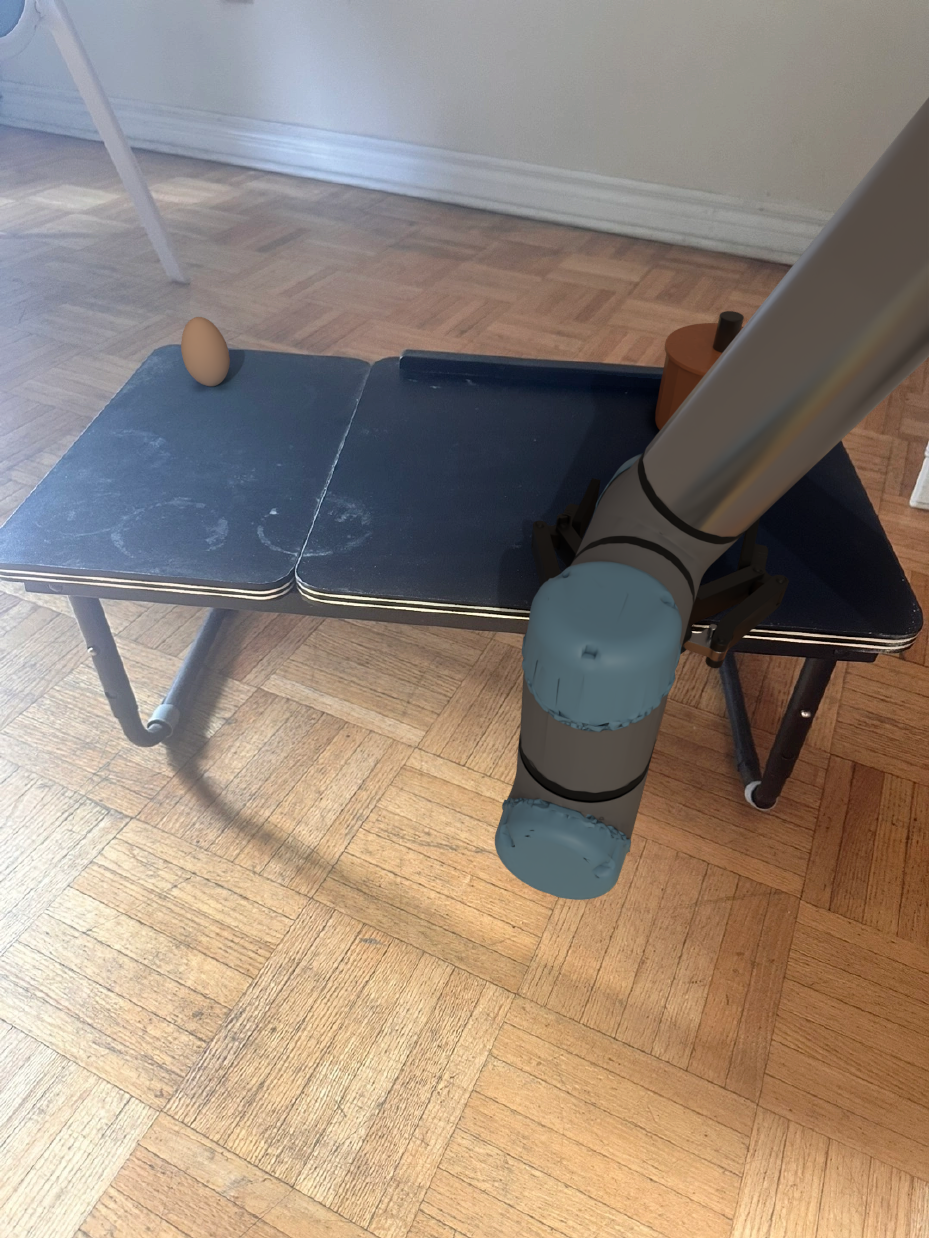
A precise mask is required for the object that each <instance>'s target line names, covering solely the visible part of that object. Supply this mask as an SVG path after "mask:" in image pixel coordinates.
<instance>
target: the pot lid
mask: <svg viewBox="0 0 929 1238" xmlns="http://www.w3.org/2000/svg"><path fill="white" fill-rule="evenodd" d="M744 318H745V317H744V315H743V314H742V313H740V312H738V311H734V310H726V311H722V312H720V314H719V317H718V321H717V322H716V323H715V322H703V323H695V324H689V325H685V326H682V327H679V328H677V329H675V330H673V331H672V332H671V333H670V334H669V335H668V336H667V338H666V339H665V342H664V352H665V355H666V354H667V356H668V357H669V359H670V360H671V361H672V362H674V363H675V364H676V365H678V366H679V367H681V368H683V369H685V370H687V371H689V372H692V373H694V374H697V375H700V376H704V375H705V374H706V373H707V372H708V371H709V369H710V368H711V367H712V366H713V364H714V363H715V362H716V361H717V359H718V358H719V357H720V356H721V354H722V353H723V352H724V351H725V349H726V348H727V347H728V346H729V344H730V343H731V342H732V341H733V339H734V338H735V337H736V336H737V335H738V333H739V332H740V331H741V330H742V328H743V327H744V326H743V323H744Z"/></svg>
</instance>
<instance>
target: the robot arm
mask: <svg viewBox="0 0 929 1238" xmlns="http://www.w3.org/2000/svg"><path fill="white" fill-rule="evenodd" d="M742 327H743V328H742V330H741V331H740V332H739V333H738V335H737V336H736V337H735V338H734V339H733V341H732V342H731V343H730V344H729V346H728V347H727V348H726V349H725V351H724V352H723V353H722V354H721V356H720V357H719V358H718V359H717V361H716V362H715V363H714V364H713V366H712V367H711V368H710V369H709V371H708V372H707V373H706V374H705V375H704V377H703V378H702V379H701V380H700V382H699V383H698V384H697V385H696V387H695V388H694V389H693V390H692V392H691V393H690V394H689V395H688V397H687V398H686V399H685V400H684V402H683V403H682V404H681V405H680V407H679V408H678V409H677V410H676V412H675V413H674V414H673V415H672V416H671V418H670V419H669V420H668V421H667V423H666V424H665V425H664V426H663V428H662V429H661V430H659V431H658V432H657V434H656V435H655V436H654V437H653V439H652V440H651V441H650V442H649V444H648V445H647V446H646V448H645V450H644V451H643V453H640V454H637V455H635V456H633V457H631V458H629V459H628V460H627V461H625V462H623V464H621V466H619V468H618V469H617V471H616V472H615V473H614V475H613V476H612V478H611V479H610V480H609V482H608V483H607V484H606V486H605V487H604V489H603V491H602V493H601V494H600V487H601V478H600V479H599V478H594V477H591V480H590V481H589V484H588V486H587V488H586V489H585V492H584V495H583V496H582V499H581V501H580V503H579V504H576V503H575V504H574V503H569V504H567V506H566V507H565V509H564V511H563V512H562V513H559V514H557V515H556V521H555V524H550V525H549V524H547V522H546V521H544V520H536V521H534V522H532V529H531V541H530V543H531V544H530V550H531V554H532V557H533V558H532V559H533V562H534V565H535V570H536V573H537V578H538V582H539V585H540V587H539V589H538V591H537V592H536V593H535V595H534V597H533V599H532V603H531V606H530V610H529V617H528V624H527V630H526V632H525V634H524V636H523V638H522V645H521V656H522V658H523V659H522V662H521V668H522V672H523V673H522V688H521V689H522V691H521V708H520V709H521V710H520V728H519V735H518V745H517V757H516V771H515V775H514V780H513V784H512V787H511V789H510V791H509V794H508V796H507V798H506V799H504V800H503V801H502V804H501V809H502V812H501V816H500V818H499V822H498V825H497V828H496V831H495V835H494V847H495V851H496V854H497V857H498V858H499V860H500V862H501V863H502V865H503V866H504V867H505V868H506V869H507V870H508V871H509V873H511V874H512V875H513V876H514V877H515V878H517V879H518V880H519V881H521V882H522V883H524V884H525V885H527V886H529V887H531V888H533V890H537V891H539V892H542V893H545V894H548V895H550V896H553V897H556V898H560V899H563V900H564V899H566V900H572V901H584V900H585V901H587V900H592V899H597V898H600V897H602V896H605V895H606V894H608V893H609V892H610V891H611V890H612V889H613V888H614V887H615V886H616V884H617V883H618V882H619V878H620V875H621V872H622V870H623V866H624V863H625V861H626V857H627V854H628V853H630V852H631V845H632V837H633V832H634V828H635V826H636V825H635V824H636V820H637V818H638V813H639V809H640V806H641V802H642V798H643V794H644V790H645V786H646V782H647V778H648V774H649V770H650V765H651V761H652V757H653V755H654V754H653V753H654V750H655V746H656V743H657V742H658V738H659V733H660V730H661V726H662V722H663V719H664V716H665V712H666V707H667V703H668V697H669V694H670V692H671V690H672V688H673V686H674V683H675V680H676V671H677V668H678V667H679V662H680V658H681V655H682V654H683V653H685V652H687V651H689V652H691V653H695V654H698V655H701V656H704V657H705V664H706V665H707V666H708V667H709V668H711V669H720V668H721V667H722V666H723V664H724V662H725V659H726V656H727V653H728V651H729V650H730V649H731V648H732V647H734V646H735V645H736V644H737V643H739V641H741V640H742V639H743V638H744V637H745V636H746V635H748V634H749V633H750V632H751V631H752V630H754V629H755V628H756V627H757V626H759V625H760V624H761V623H762V622H763V621H765V619H767V618H768V617H769V616H770V615H772V614H773V613H774V612H775V611H776V610H778V609H779V608H780V606H781V605H782V602H783V599H784V596H785V594H786V591H787V588H788V585H789V583H790V580H789V578H788V577H786V576H785V575H783V574H775V575H771V574H769V573H768V572H767V570H766V567H767V560H768V555H769V548H768V547H767V545H764V544H758V543H756V540H757V535H758V531H759V526H760V520H761V517H762V516H763V515H765V513H766V512H767V511H768V510H769V509H770V508H771V507H773V505H774V504H775V503H777V502H778V501H779V500H780V499H781V498H782V497H783V496H784V495H785V494H786V493H787V492H788V491H789V490H790V489H792V488H793V487H794V486H795V484H797V483H798V482H799V481H800V480H801V479H802V478H803V477H804V476H805V475H806V474H807V473H809V472H810V470H812V468H813V467H815V466H816V465H817V464H818V463H819V462H820V461H821V460H822V459H823V458H824V457H826V455H827V454H828V453H830V451H832V450H833V449H834V448H835V447H836V446H837V445H838V444H839V443H840V442H842V440H843V439H845V437H847V436H848V434H850V432H851V431H853V430H854V429H855V428H856V427H857V426H858V425H859V424H860V423H861V422H863V420H864V419H865V418H866V417H867V416H868V415H869V414H871V413H872V412H873V411H874V410H875V409H876V408H877V407H878V406H879V405H880V404H882V402H884V400H885V399H886V398H887V397H888V396H890V395H891V394H892V393H893V392H894V391H895V390H896V389H897V388H898V387H899V386H901V384H903V383H904V382H905V380H906V379H907V378H909V377H910V376H911V375H912V374H913V373H914V372H915V371H916V370H917V369H918V368H919V367H921V365H923V363H925V361H927V360H928V359H929V96H928V97H927V98H926V100H925V101H924V102H923V103H922V105H921V106H920V107H919V108H918V110H917V111H915V113H914V115H913V116H912V117H911V118H910V120H909V121H908V122H907V124H906V125H905V126H904V127H903V128H902V130H901V131H900V132H899V133H898V134H897V136H895V138H894V139H893V141H892V142H891V144H889V146H888V147H887V148H886V149H885V151H883V153H882V154H881V155H880V157H879V158H878V159H877V161H876V162H875V163H874V164H873V166H872V167H871V168H870V169H869V170H868V171H867V173H866V174H865V175H864V177H863V178H862V179H861V181H860V182H859V183H858V184H857V185H856V186H855V188H854V189H853V190H852V191H851V192H850V194H849V196H848V197H846V199H845V200H844V201H843V203H842V204H841V205H840V207H839V208H838V209H837V210H836V212H835V213H834V214H833V215H832V217H831V218H830V219H829V220H828V222H826V224H825V225H824V227H823V228H821V230H820V231H819V233H817V235H816V237H814V239H813V240H812V241H811V243H810V244H808V246H807V247H806V249H805V250H804V251H803V252H802V254H801V255H800V256H799V257H798V258H797V260H796V261H795V262H794V263H793V265H792V266H791V267H790V268H789V270H788V271H787V273H785V274H784V276H783V277H782V278H781V280H780V281H779V282H778V283H777V285H776V286H775V287H774V289H772V290H771V292H770V293H769V295H768V296H767V297H766V298H765V300H764V301H763V302H762V303H761V305H760V306H759V307H758V308H757V310H756V311H755V312H754V314H753V315H752V316H751V317H750V318H749V319H748V321H747V322H746V323H745V324H744V325H743V326H742ZM599 494H600V495H599ZM743 535H744V536H743ZM742 536H743V538H742V539H743V540H742V544H741V549H740V552H739V558H738V562H737V568H736V571H734V572H731V573H729V574H727V575H723V576H722V577H719V578H717V579H715V580H712V581H709V582H707V583H705V584H702V585H700V584H701V582H702V579H703V576H704V574H705V573H706V571H707V570H708V569H709V568H710V567H711V565H712V564H714V563H715V562H716V561H717V560H718V559H719V558H720V557H721V556H722V555H724V554H725V552H726V551H728V549H729V548H731V547H732V546H733V545H734V544H735V543H736V542H737V541H738V540H739V539H740V538H741V537H742ZM557 556H558V557H559V558H560V560H561V562H562V564H564V566H565V569H564V570H563V571H561V568H560V565H559V562H558V557H557ZM731 608H732V609H731ZM728 609H731V610H730V611H729V612H727V613H726V614H725V615H724V616H723V617H722V618H721V619H720V620H719V622H718V623H717V624H715V623H711V624H709V626H708V627H707V628H705V629H703V630H702V631H701V632H693V629H692V627H693V626H694V625H695V624H696V623H698V622H701V621H703V620H705V619H707V618H710V617H713V616H714V615H717V614H719V613H721V612H723V611H726V610H728Z"/></svg>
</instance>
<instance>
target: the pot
mask: <svg viewBox="0 0 929 1238" xmlns="http://www.w3.org/2000/svg"><path fill="white" fill-rule="evenodd" d="M703 377H704V376H700V375H697V374H694V373H692V372H689V371H687V370H685V369H683V368H681V367H679V366H678V365H676V364H675V363H674V362H672V361H671V360H670V359H669V357H668V356H667V354H666V353H665V357H664V365H663V368H662V374H661V380H660V385H659V389H658V390H659V391H658V396H657V402H656V407H655V416H654V419H655V420H654V421H655V425H656V427H657V429H658V430H659V431H660V430H661V429H662V428H663V426H664V425H665V424H666V423H667V421H668V420H669V419H670V418H671V416H672V415H673V414H674V413H675V412H676V410H677V409H678V408H679V407H680V405H681V404H682V403H683V402H684V400H685V399H686V398H687V397H688V395H689V394H690V393H691V392H692V390H693V389H694V388H695V387H696V385H697V384H698V383H699V382H700V380H701V379H702V378H703Z"/></svg>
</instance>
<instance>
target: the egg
mask: <svg viewBox="0 0 929 1238" xmlns="http://www.w3.org/2000/svg"><path fill="white" fill-rule="evenodd" d="M180 350H181V351H180V352H181V355H182V360H183V364H184V366H185V367H184V368H185V369H186V370H187V372H188V373H189V375H190V376H191V378H193V379H194V380H195V381H196V382H197V383H199V384H201V385H203V386H206V387H215V386H218V385H219V384H221V383H222V382H223V381H224V380H225V379H226V377H227V375H228V372H229V370H230V366H231V365H230V363H231V358H230V357H231V356H230V352H229V347H228V344H227V341H226V340H225V338H224V336H223V333H221V331H220V329H218V327H217V326H216V325H215V324H214V323H213V322H212V321H211V320H210V319H208V318H206V317H203V316H195V317H193V318H190V319H189V320H188V322H186V324H185V326H184V328H183V331H182V335H181V341H180Z"/></svg>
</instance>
